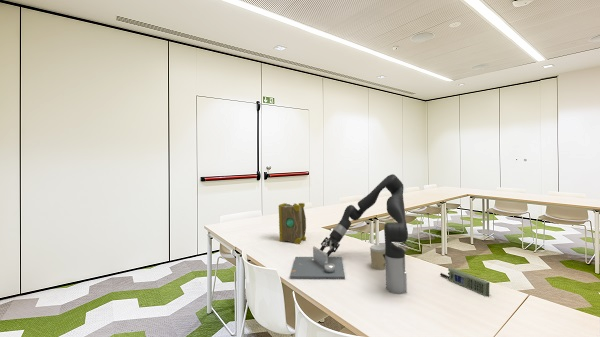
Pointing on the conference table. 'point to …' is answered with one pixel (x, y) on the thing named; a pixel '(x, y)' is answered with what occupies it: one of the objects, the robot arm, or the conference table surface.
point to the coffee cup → (378, 257)
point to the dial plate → (316, 269)
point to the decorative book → (292, 222)
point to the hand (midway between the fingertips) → (323, 254)
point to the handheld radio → (468, 281)
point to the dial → (323, 259)
